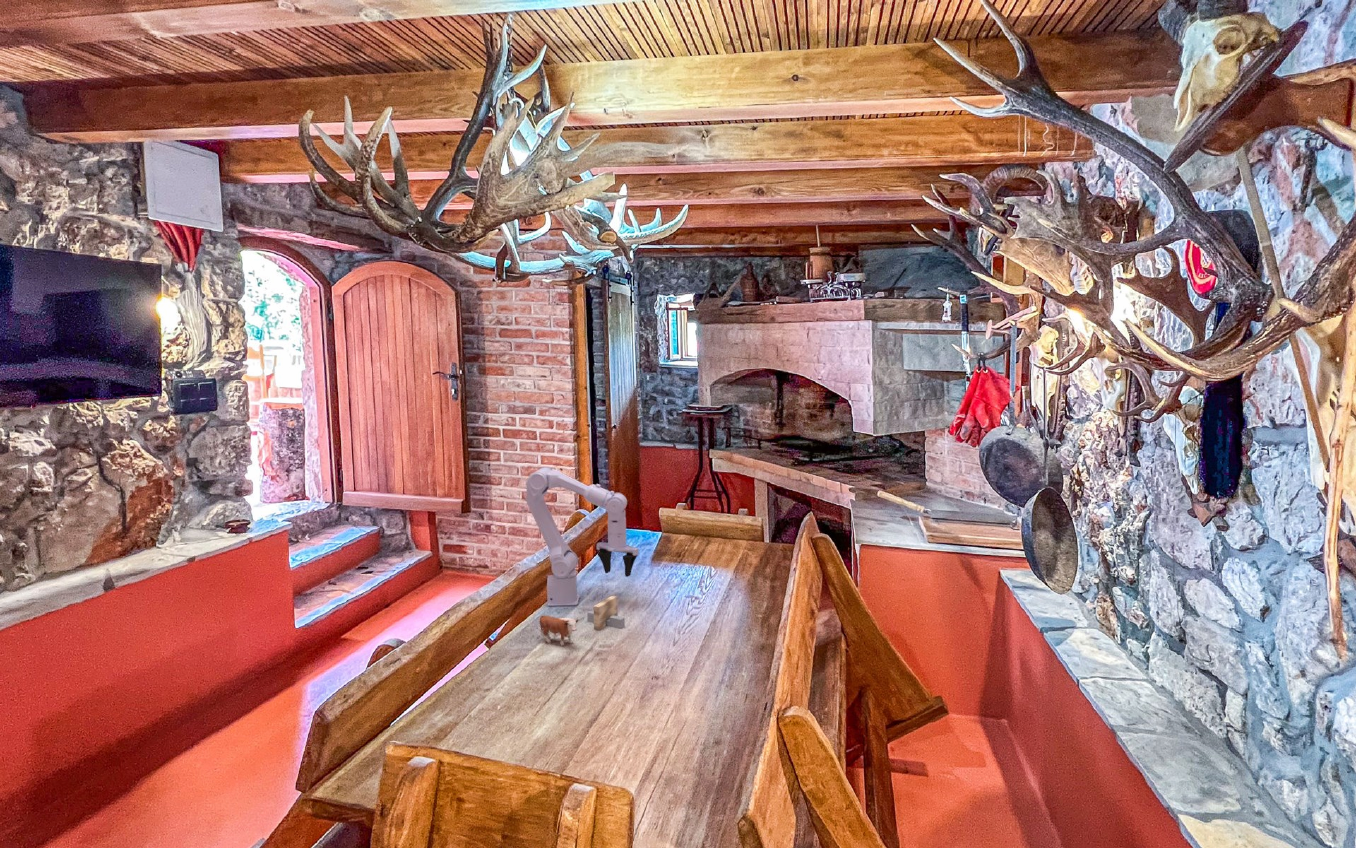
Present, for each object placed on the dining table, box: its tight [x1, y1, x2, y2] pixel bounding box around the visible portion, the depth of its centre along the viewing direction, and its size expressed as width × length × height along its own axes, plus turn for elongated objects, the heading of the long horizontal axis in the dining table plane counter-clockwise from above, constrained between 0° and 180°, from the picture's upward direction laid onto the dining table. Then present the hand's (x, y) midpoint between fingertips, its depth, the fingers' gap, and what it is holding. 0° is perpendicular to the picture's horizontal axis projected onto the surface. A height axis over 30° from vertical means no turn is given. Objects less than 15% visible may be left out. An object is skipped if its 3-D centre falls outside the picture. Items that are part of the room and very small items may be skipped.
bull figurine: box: [539, 614, 579, 647], centre depth 211 cm, size 4×13×8 cm, turn 58°
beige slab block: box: [593, 595, 619, 631], centre depth 224 cm, size 10×2×7 cm, turn 152°
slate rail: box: [586, 610, 626, 629], centre depth 224 cm, size 12×2×3 cm, turn 62°
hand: (617, 574), depth 239 cm, fingers open, 7 cm apart
